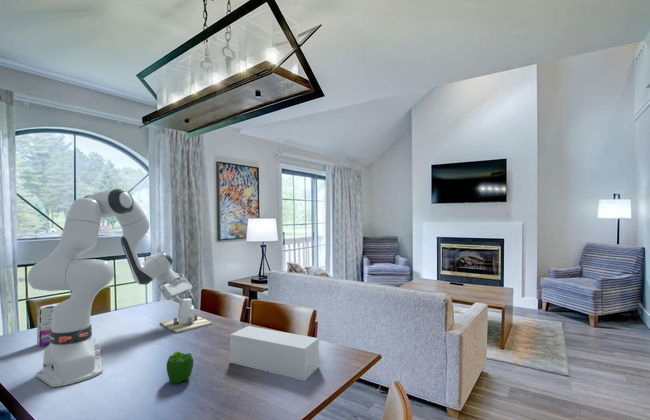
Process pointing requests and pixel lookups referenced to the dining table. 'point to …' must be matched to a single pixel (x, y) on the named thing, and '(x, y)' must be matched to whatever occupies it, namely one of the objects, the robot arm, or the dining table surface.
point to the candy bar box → (44, 324)
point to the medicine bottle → (186, 311)
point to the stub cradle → (177, 327)
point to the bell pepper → (179, 367)
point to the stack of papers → (275, 351)
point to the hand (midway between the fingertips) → (187, 300)
